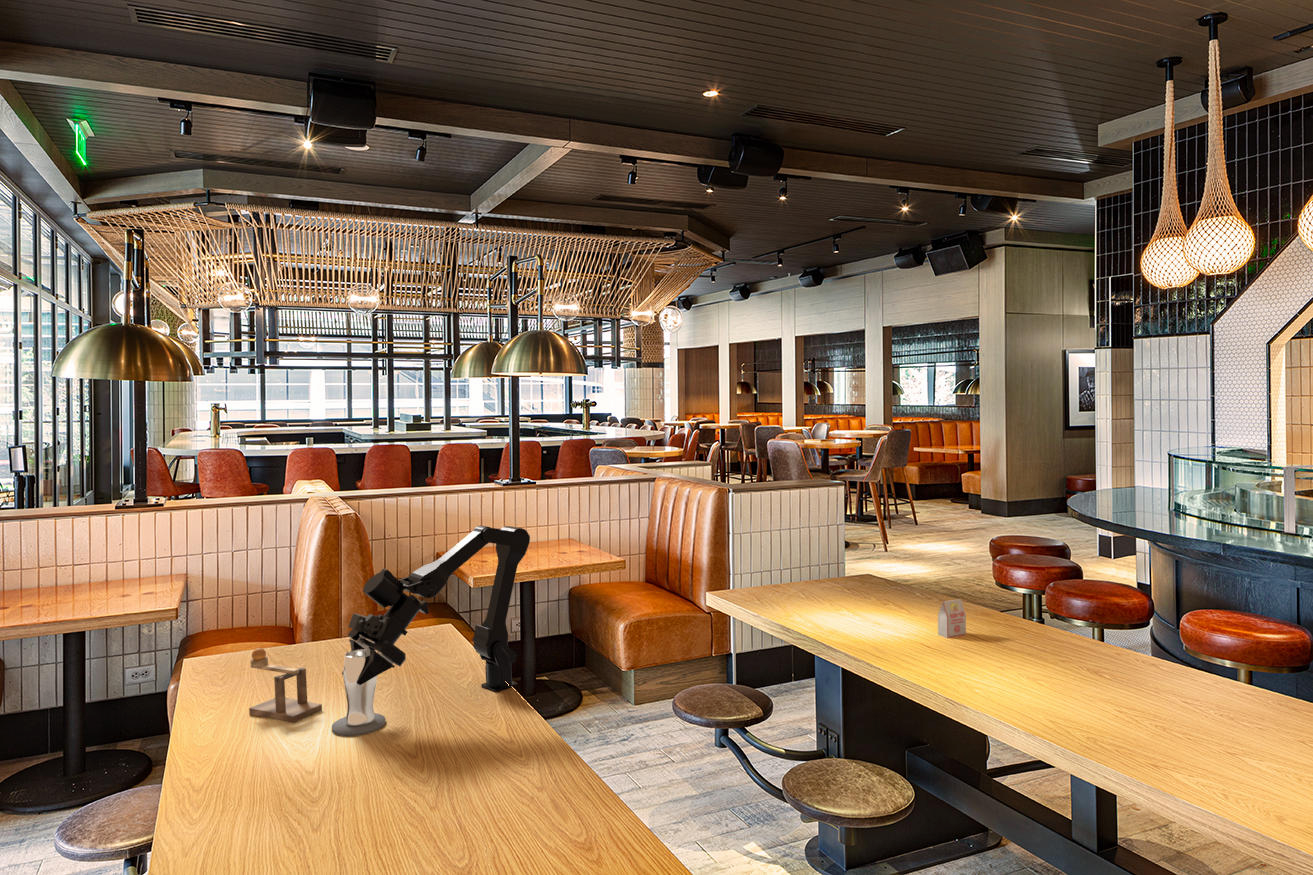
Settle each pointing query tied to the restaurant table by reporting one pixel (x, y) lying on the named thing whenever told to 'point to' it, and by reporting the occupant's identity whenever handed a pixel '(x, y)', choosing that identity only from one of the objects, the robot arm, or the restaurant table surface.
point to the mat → (357, 727)
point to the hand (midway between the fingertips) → (350, 679)
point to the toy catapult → (283, 693)
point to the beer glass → (358, 689)
